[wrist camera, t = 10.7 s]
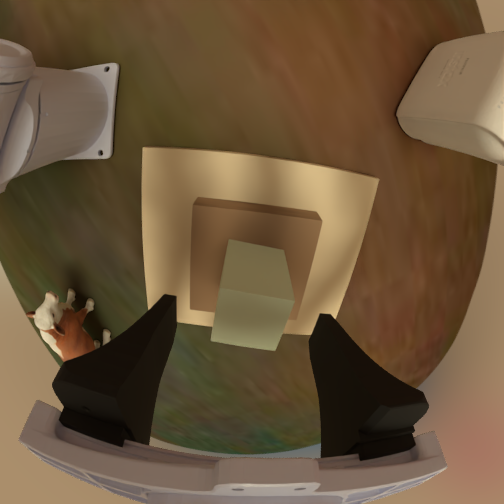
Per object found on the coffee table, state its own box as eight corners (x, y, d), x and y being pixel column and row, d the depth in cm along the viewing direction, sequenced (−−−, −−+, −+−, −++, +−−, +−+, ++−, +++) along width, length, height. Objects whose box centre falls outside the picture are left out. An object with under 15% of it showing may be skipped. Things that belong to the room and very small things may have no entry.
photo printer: (433, 37, 14) (535, 19, 3) (463, 70, 15) (565, 75, 4) (385, 116, 18) (501, 133, 7) (420, 148, 19) (530, 192, 8)
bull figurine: (87, 260, 24) (43, 310, 17) (123, 355, 30) (102, 406, 23) (56, 260, 24) (13, 305, 17) (94, 351, 30) (71, 399, 23)
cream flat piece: (152, 311, 26) (143, 331, 24) (147, 146, 19) (132, 151, 17) (326, 329, 28) (332, 349, 25) (374, 176, 20) (390, 185, 18)
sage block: (219, 285, 21) (210, 340, 16) (228, 239, 20) (220, 287, 14) (270, 294, 22) (275, 350, 16) (283, 250, 20) (295, 300, 15)
